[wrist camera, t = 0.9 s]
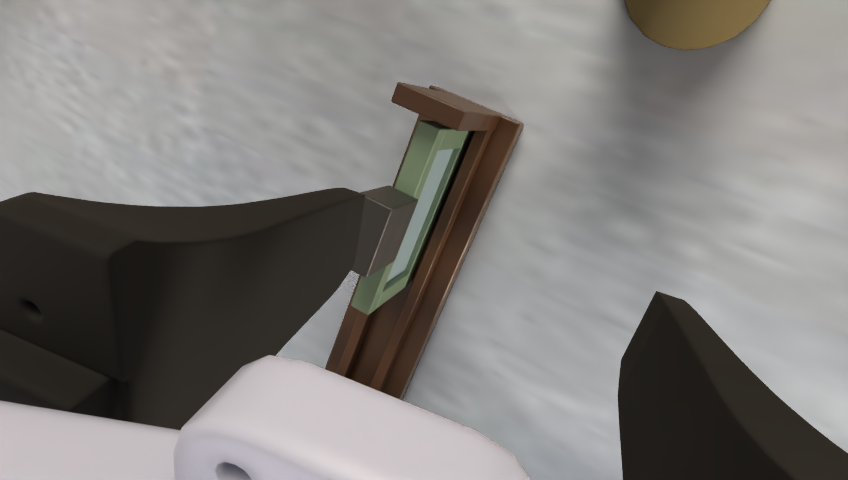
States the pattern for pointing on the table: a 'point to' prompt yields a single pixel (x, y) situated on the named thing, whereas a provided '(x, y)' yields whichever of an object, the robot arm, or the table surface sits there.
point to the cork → (693, 20)
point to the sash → (404, 214)
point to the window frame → (428, 247)
